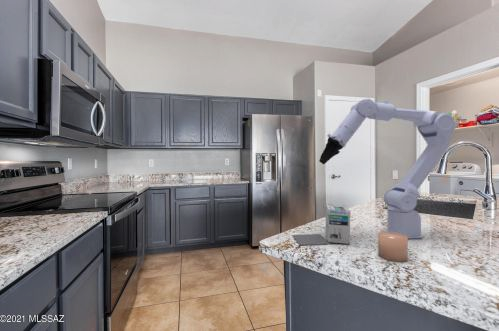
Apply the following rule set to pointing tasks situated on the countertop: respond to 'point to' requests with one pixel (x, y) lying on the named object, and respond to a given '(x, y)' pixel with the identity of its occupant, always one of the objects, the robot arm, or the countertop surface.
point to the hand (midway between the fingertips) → (321, 161)
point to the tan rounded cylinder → (393, 246)
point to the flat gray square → (310, 239)
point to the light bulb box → (337, 224)
